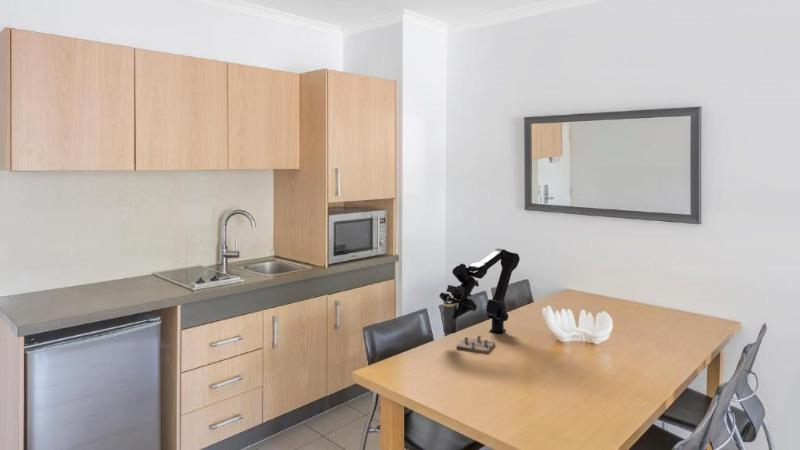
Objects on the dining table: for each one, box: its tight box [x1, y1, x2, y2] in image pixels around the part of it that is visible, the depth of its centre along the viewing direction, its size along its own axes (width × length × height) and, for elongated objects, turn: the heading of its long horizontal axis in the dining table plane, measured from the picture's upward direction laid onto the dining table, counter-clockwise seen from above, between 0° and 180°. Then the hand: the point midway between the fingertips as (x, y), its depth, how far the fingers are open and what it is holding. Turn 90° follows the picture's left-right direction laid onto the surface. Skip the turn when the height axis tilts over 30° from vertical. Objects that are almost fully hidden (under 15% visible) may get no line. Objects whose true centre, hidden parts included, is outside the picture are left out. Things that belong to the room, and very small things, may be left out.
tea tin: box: [442, 301, 458, 334], centre depth 240 cm, size 6×6×13 cm
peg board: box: [456, 334, 496, 354], centre depth 241 cm, size 12×14×4 cm
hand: (448, 317), depth 240 cm, fingers closed on tea tin, 6 cm apart
